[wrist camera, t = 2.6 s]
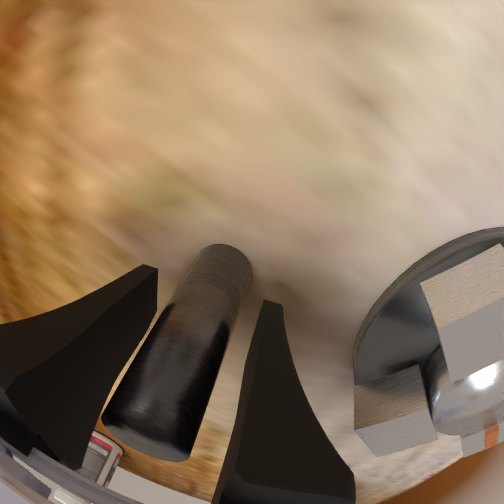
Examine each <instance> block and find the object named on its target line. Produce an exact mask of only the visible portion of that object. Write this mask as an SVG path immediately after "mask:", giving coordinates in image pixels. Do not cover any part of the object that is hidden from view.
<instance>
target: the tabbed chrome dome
mask: <svg viewBox="0 0 504 504" xmlns="http://www.w3.org/2000/svg"><path fill="white" fill-rule="evenodd" d="M420 285H421V288H422V291H423V294H424V297H425V299H426V302H427V306H428V309H429V312H430V315H431V318H432V321H433V325H434V328H435V331H436V335H437V338H438V341H439V344H440V347H439V348H438V350H437V351H436V352H435V353H434V355H433V356H432V358H431V359H430V361H429V363H428V365H427V368H426V370H425V381H424V378H423V376H422V373H421V370H420V367H419V364H418V365H415V366H412V367H410V368H407V369H404V370H402V371H399V372H396V373H393V374H391V375H388V376H385V377H382V378H379V379H376V380H373V381H370V382H367V383H364V384H360V385H357V386H354V430H355V431H356V433H357V434H358V435H359V436H360V438H361V439H362V440H363V441H364V442H365V444H366V445H367V446H368V447H369V449H370V450H371V451H372V452H373V453H374V455H375V456H376V457H378V456H383V455H386V454H390V453H394V452H398V451H401V450H405V449H408V448H412V447H415V446H418V445H421V444H424V443H428V442H431V441H434V440H436V439H438V437H437V431H439V432H440V433H443V434H446V435H460V440H461V445H462V451H463V457H467V456H469V455H472V454H474V453H477V452H479V451H482V450H484V449H488V448H490V447H492V446H494V445H497V444H498V443H500V442H502V441H504V248H503V246H502V245H501V244H500V243H499V244H497V245H495V246H494V247H492V248H490V249H488V250H486V251H484V252H482V253H480V254H478V255H476V256H474V257H472V258H470V259H468V260H467V261H465V262H463V263H460V264H458V265H456V266H454V267H452V268H450V269H448V270H446V271H444V272H442V273H440V274H438V275H436V276H433V277H431V278H429V279H427V280H425V281H423V282H420ZM436 430H437V431H436Z"/></svg>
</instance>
